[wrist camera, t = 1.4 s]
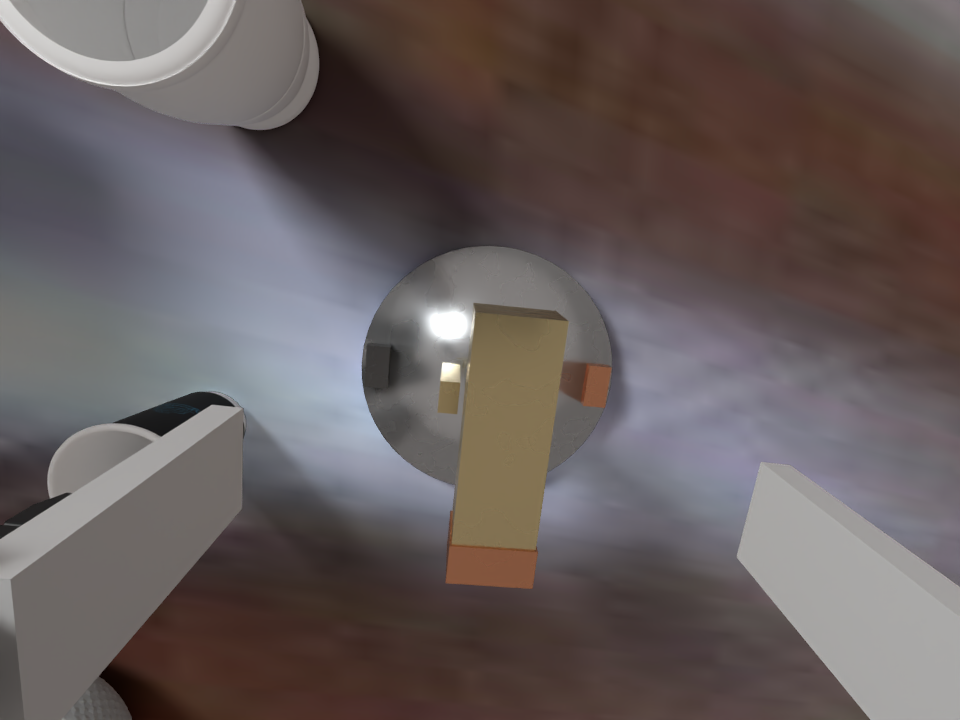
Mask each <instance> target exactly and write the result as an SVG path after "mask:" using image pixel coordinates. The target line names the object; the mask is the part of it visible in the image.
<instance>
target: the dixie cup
mask: <svg viewBox="0 0 960 720" xmlns="http://www.w3.org/2000/svg"><path fill="white" fill-rule="evenodd" d="M211 405H220V406H229V407H239V408H241V407H240V406H239V405H238V403H237V402H236V401H234V400H233V399H232V398H230V397H229V396H227V395H225V394H222V393H219V392H195V393H191V394H188V395H185V396H183V397H180V398H177V399H175V400H172V401H170V402H167V403H164V404H162V405H159V406H156V407H154V408H151V409H148V410H146V411H143V412H140V413H138V414H135V415H133V416H130V417H127V418H125V419H122V420H119V421H117V422H114V423H109V424H100V425H95V426H91V427H88V428H85V429H83V430H81V431H79V432H77V433H75V434H73V435H72V436H71V437H69V438H68V439H67V440H66V441H65V442H64V443H63V444H62V445H61V446H60V447H59V448H58V450H57V451H56V452H55V454H54V456H53V458H52V460H51V463H50V466H49V470H48V476H47V485H48V492H49V497H50V499H51V498H53V497H56V496H59V495H61V494H64V493H74V492H75V491H77V490H78V489H80V488H82V487H83V486H85V485H86V484H88V483H89V482H91V481H93V480H94V479H96V478H97V477H99V476H100V475H102V474H104V473H105V472H107V471H108V470H110V469H111V468H113V467H115V466H116V465H118V464H119V463H121V462H123V461H124V460H126V459H127V458H129V457H130V456H132V455H134V454H135V453H137V452H138V451H140V450H141V449H143V448H145V447H146V446H148V445H149V444H151V443H152V442H154V441H156V440H157V439H159V438H160V437H162V436H163V435H165V434H167V433H168V432H170V431H171V430H173V429H174V428H176V427H178V426H179V425H181V424H182V423H184V422H186V421H187V420H189V419H190V418H192V417H193V416H195V415H197V414H198V413H200V412H201V411H203V410H204V409H206V408H208V407H209V406H211ZM245 430H246V419H245V415H244V413H243V438H244V433H245Z"/></svg>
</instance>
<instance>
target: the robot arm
mask: <svg viewBox="0 0 960 720" xmlns="http://www.w3.org/2000/svg"><path fill="white" fill-rule="evenodd" d="M242 474H243V408H239V407H229V406H220V405H211V406H209V407H208V408H206V409H204V410H203V411H201V412H200V413H198V414H197V415H195V416H193V417H192V418H190V419H189V420H187V421H186V422H184V423H182V424H181V425H179V426H178V427H176V428H174V429H173V430H171V431H170V432H168V433H167V434H165V435H163V436H162V437H160V438H159V439H157V440H156V441H154V442H152V443H151V444H149V445H148V446H146V447H145V448H143V449H141V450H140V451H138V452H137V453H135V454H134V455H132V456H130V457H129V458H127V459H126V460H124V461H123V462H121V463H119V464H118V465H116V466H115V467H113V468H111V469H110V470H108V471H107V472H105V473H104V474H102V475H100V476H99V477H97V478H96V479H94V480H93V481H91V482H89V483H88V484H86V485H85V486H83V487H82V488H80V489H78V490H77V491H75V492H74V493H64V494H61V495H59V496H56V497H53V498H51V499H48V500H45V501H42V502H40V503H37V504H34V505H32V506H30V507H29V508H27V509H25V510H24V511H22V512H20V513H19V514H17V515H15V516H14V517H12V518H10V519H9V520H7V521H6V522H5V524H4V525H0V720H61V719H62V718H63V717H64V716H65V715H66V714H67V712H68V711H69V710H70V709H71V708H72V707H73V705H74V704H75V703H76V702H77V701H78V700H79V698H80V697H81V696H82V695H83V694H84V693H85V691H86V690H87V689H88V688H89V687H90V686H91V684H92V683H93V682H94V681H95V680H96V679H97V677H98V676H99V675H100V674H101V673H102V672H103V670H104V669H105V668H106V667H107V666H108V665H109V663H110V662H111V661H112V660H113V659H114V658H115V656H116V655H117V654H118V653H119V652H120V651H121V649H122V648H123V647H124V646H125V645H126V644H127V642H128V641H129V640H130V639H131V638H132V637H133V635H134V634H135V633H136V632H137V631H138V630H139V628H140V627H141V626H142V625H143V624H144V623H145V621H146V620H147V619H148V618H149V617H150V616H151V614H152V613H153V612H154V611H155V610H156V609H157V607H158V606H159V605H160V604H161V603H162V602H163V600H164V599H165V598H166V597H167V596H168V595H169V593H170V592H171V591H172V590H173V589H174V588H175V586H176V585H177V584H178V583H179V582H180V581H181V579H182V578H183V577H184V576H185V575H186V574H187V572H188V571H189V570H190V569H191V568H192V567H193V565H194V564H195V563H196V562H197V561H198V560H199V558H200V557H201V556H202V555H203V554H204V553H205V551H206V550H207V549H208V548H209V547H210V546H211V544H212V543H213V542H214V541H215V540H216V539H217V537H218V536H219V535H220V534H221V533H222V532H223V530H224V529H225V528H226V527H227V526H228V525H229V523H230V522H231V521H232V520H233V519H234V518H235V517H236V515H237V514H238V513H239V512H240V511H241V510H242ZM737 558H738V559H739V560H740V562H741V563H742V564H743V565H744V567H745V568H746V569H747V570H748V571H749V573H750V574H751V575H752V576H753V577H754V579H755V580H756V581H757V582H758V584H759V585H760V586H761V587H762V588H763V590H764V591H765V592H766V593H767V594H768V596H769V597H770V598H771V599H772V601H773V602H774V603H775V604H776V605H777V607H778V608H779V609H780V610H781V611H782V613H783V614H784V615H785V616H786V618H787V619H788V620H789V621H790V622H791V624H792V625H793V626H794V627H795V628H796V630H797V631H798V632H799V633H800V635H801V636H802V637H803V638H804V639H805V641H806V642H807V643H808V644H809V645H810V647H811V648H812V649H813V650H814V652H815V653H816V654H817V655H818V656H819V658H820V659H821V660H822V661H823V662H824V664H825V665H826V666H827V667H828V669H829V670H830V671H831V672H832V673H833V675H834V676H835V677H836V678H837V679H838V681H839V682H840V683H841V684H842V686H843V687H844V688H845V689H846V690H847V692H848V693H849V694H850V695H851V696H852V698H853V699H854V700H855V701H856V703H857V704H858V705H859V706H860V707H861V709H862V710H863V711H864V712H865V713H866V715H867V716H868V717H869V718H870V720H960V587H959V586H958V585H956V584H955V583H953V582H952V581H951V580H949V579H948V578H946V577H945V576H944V575H942V574H941V573H940V572H938V571H937V570H935V569H934V568H933V567H931V566H930V565H928V564H927V563H926V562H924V561H923V560H921V559H920V558H919V557H917V556H916V555H914V554H913V553H912V552H910V551H909V550H907V549H906V548H905V547H903V546H902V545H901V544H899V543H898V542H896V541H895V540H894V539H892V538H891V537H889V536H888V535H887V534H885V533H884V532H882V531H881V530H880V529H878V528H877V527H875V526H874V525H873V524H871V523H870V522H869V521H867V520H866V519H864V518H863V517H862V516H860V515H859V514H857V513H856V512H855V511H853V510H852V509H850V508H849V507H848V506H846V505H845V504H843V503H842V502H841V501H839V500H838V499H836V498H835V497H834V496H832V495H831V494H830V493H828V492H827V491H825V490H824V489H823V488H821V487H820V486H818V485H817V484H816V483H814V482H813V481H811V480H810V479H809V478H807V477H806V476H804V475H803V474H802V473H800V472H799V471H798V470H796V469H795V468H793V467H792V466H791V465H784V464H775V463H765V462H761V464H760V468H759V472H758V476H757V479H756V483H755V487H754V491H753V495H752V499H751V503H750V507H749V511H748V515H747V519H746V523H745V527H744V530H743V534H742V538H741V542H740V546H739V550H738V554H737Z"/></svg>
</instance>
